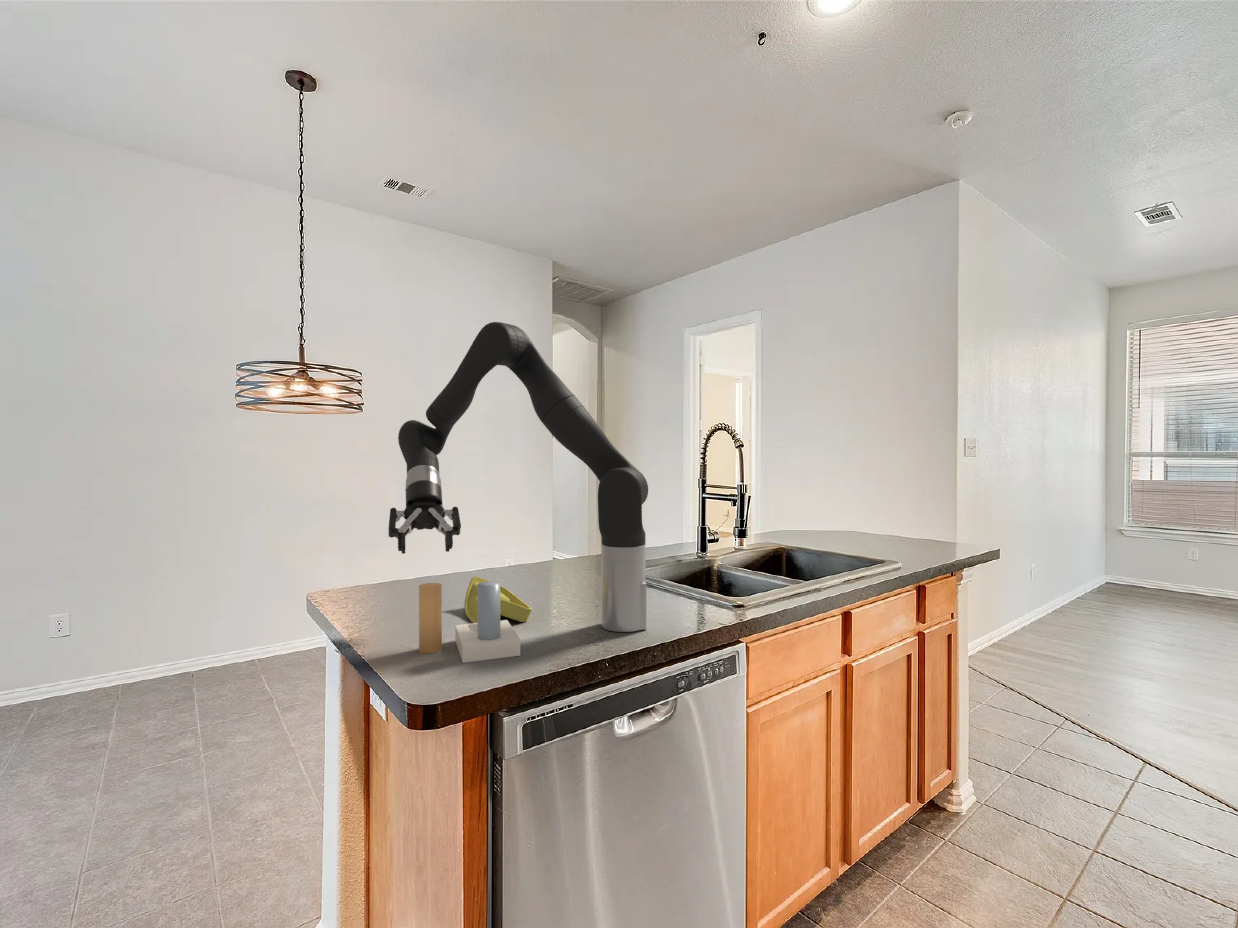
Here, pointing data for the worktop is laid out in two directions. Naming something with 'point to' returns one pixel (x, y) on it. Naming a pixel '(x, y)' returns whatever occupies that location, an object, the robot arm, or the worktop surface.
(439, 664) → the worktop surface
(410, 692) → the worktop surface
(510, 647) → the housing
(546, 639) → the worktop surface
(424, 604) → the tan round-top capsule
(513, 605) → the plastic component
